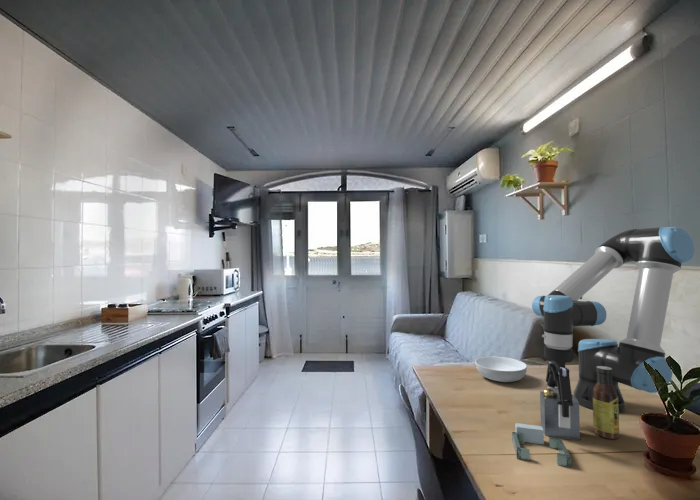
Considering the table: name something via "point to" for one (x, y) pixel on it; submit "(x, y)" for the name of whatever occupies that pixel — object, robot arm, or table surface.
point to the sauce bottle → (605, 405)
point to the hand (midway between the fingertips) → (558, 417)
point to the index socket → (556, 443)
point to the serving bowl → (501, 368)
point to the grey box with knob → (552, 416)
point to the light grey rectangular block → (531, 433)
